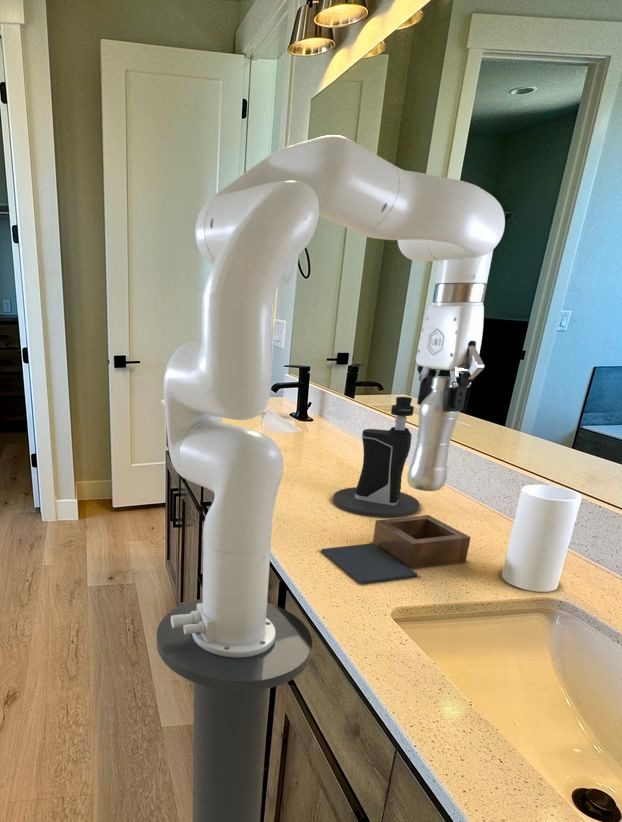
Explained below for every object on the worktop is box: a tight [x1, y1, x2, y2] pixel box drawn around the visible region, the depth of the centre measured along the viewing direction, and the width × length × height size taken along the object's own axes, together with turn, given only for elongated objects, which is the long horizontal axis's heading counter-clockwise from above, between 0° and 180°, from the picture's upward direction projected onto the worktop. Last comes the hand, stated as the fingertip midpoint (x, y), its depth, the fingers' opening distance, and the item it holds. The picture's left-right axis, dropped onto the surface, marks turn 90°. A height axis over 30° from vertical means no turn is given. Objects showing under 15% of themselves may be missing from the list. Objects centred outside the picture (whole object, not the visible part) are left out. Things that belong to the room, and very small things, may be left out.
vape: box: [332, 396, 420, 519], centre depth 131 cm, size 19×19×25 cm
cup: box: [501, 484, 583, 593], centre depth 95 cm, size 8×8×16 cm
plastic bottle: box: [407, 375, 460, 492], centre depth 101 cm, size 6×7×20 cm
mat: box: [321, 542, 418, 585], centre depth 105 cm, size 11×14×1 cm
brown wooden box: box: [372, 514, 472, 570], centre depth 109 cm, size 12×12×5 cm
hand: (439, 406), depth 99 cm, fingers closed on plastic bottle, 6 cm apart
